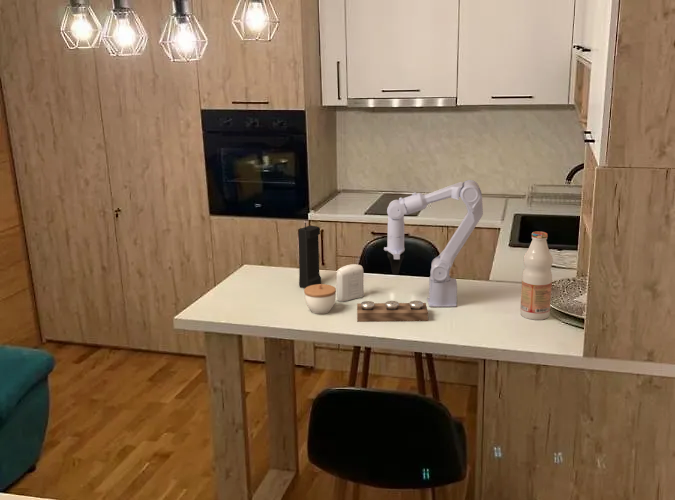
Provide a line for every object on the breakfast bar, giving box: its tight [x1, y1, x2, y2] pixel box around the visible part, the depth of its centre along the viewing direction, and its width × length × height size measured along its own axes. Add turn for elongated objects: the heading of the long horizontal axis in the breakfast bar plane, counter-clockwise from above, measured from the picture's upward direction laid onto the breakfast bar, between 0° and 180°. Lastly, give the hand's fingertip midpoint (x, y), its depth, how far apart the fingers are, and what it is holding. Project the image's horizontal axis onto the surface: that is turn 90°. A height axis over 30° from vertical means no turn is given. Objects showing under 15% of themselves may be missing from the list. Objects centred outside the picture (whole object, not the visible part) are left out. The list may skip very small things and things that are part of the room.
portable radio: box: [298, 222, 322, 289], centre depth 268 cm, size 8×6×25 cm
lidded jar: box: [303, 283, 337, 315], centre depth 246 cm, size 11×11×9 cm
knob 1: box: [360, 300, 375, 310], centre depth 240 cm, size 4×4×4 cm
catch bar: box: [356, 302, 429, 323], centre depth 240 cm, size 23×9×3 cm, turn 88°
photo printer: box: [336, 263, 365, 302], centre depth 256 cm, size 10×4×12 cm, turn 123°
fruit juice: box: [519, 231, 554, 321], centre depth 235 cm, size 9×9×28 cm
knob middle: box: [384, 300, 400, 310], centre depth 240 cm, size 4×4×4 cm
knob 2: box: [409, 300, 424, 310], centre depth 239 cm, size 4×4×4 cm
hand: (395, 273), depth 251 cm, fingers closed
